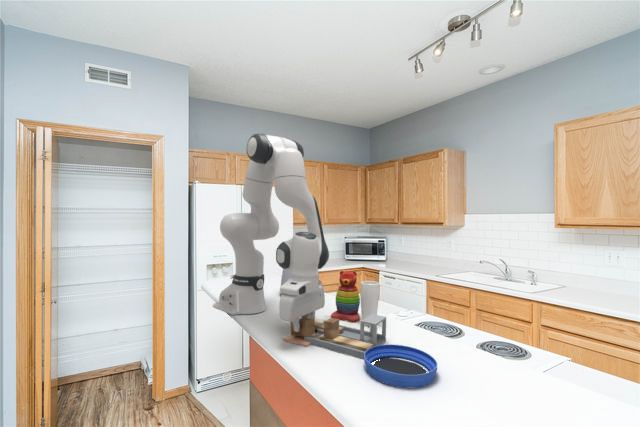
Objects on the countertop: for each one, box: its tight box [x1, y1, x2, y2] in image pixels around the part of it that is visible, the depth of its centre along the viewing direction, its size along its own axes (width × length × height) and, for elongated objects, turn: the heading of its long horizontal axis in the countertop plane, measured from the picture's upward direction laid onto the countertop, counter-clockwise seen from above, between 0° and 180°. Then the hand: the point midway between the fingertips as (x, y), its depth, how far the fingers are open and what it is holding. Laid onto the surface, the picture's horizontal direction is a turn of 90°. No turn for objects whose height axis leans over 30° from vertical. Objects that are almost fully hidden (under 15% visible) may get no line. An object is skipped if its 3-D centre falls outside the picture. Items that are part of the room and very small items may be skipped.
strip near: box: [319, 317, 374, 352], centre depth 98 cm, size 16×4×6 cm, turn 58°
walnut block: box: [290, 317, 316, 337], centre depth 104 cm, size 6×4×4 cm
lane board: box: [304, 314, 387, 360], centre depth 102 cm, size 20×16×8 cm
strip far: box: [300, 314, 344, 334], centre depth 111 cm, size 16×4×6 cm, turn 58°
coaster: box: [282, 333, 320, 348], centre depth 103 cm, size 9×9×1 cm
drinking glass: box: [359, 280, 380, 327], centre depth 120 cm, size 7×7×15 cm
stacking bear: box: [330, 270, 361, 323], centre depth 127 cm, size 11×10×18 cm
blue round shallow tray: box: [363, 343, 438, 388], centre depth 84 cm, size 18×18×4 cm
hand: (303, 328), depth 103 cm, fingers open, 5 cm apart
